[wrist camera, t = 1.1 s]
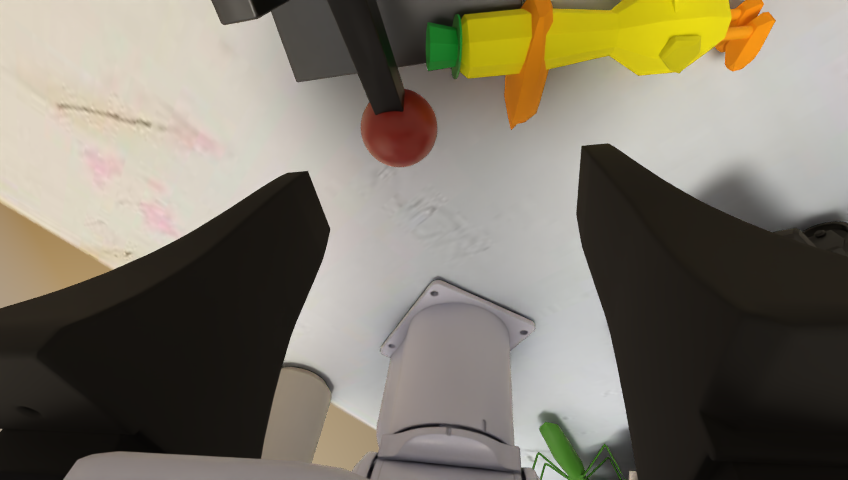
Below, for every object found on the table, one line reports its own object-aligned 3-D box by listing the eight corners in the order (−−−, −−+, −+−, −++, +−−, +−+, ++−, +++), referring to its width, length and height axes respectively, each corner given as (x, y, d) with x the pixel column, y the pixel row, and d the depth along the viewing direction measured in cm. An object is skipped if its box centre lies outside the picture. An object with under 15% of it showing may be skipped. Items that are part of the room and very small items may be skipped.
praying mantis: (656, 535, 38) (644, 484, 42) (605, 431, 32) (597, 384, 36) (554, 537, 42) (551, 491, 45) (492, 445, 36) (496, 401, 40)
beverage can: (342, 401, 39) (299, 556, 30) (280, 400, 40) (220, 548, 31) (320, 361, 35) (262, 526, 26) (252, 361, 37) (174, 519, 27)
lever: (444, 122, 18) (442, 178, 17) (377, 130, 19) (371, 185, 17) (358, -247, 9) (338, -191, 7) (231, -207, 9) (191, -148, 8)
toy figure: (714, 135, 18) (433, 161, 18) (683, 76, 19) (427, 101, 20) (847, -30, 12) (425, 12, 12) (786, -93, 14) (417, -56, 14)
